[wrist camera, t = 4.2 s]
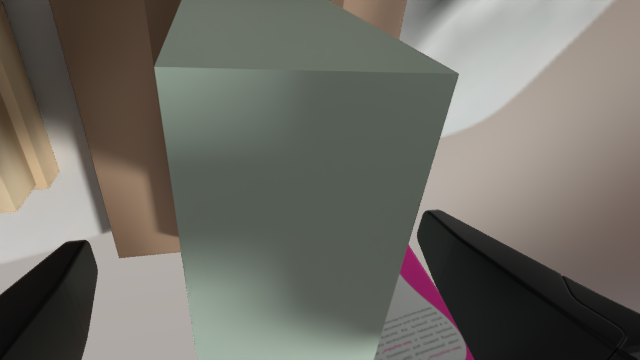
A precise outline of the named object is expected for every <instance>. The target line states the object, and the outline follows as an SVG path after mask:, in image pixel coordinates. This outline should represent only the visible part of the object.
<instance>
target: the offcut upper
mask: <svg viewBox="0 0 640 360" xmlns="http://www.w3.org/2000/svg"><path fill="white" fill-rule="evenodd" d="M35 186H36V183H35V180H34V178H33V175H32V173H31V170H30V167H29V165H28V162H27V160H26V157H25V155H24V152H23V149H22V147H21V144H20V142H19V139H18V137H17V134H16V132H15V129H14V126H13V124H12V121H11V119H10V116H9V114H8V111H7V108H6V106H5V103H4V101H3V98H2V96H1V93H0V213H11V212H17V211H18V210H19V208H20V207H21V206H22V204H23V203H24V201H25V200H26V198H27V197H28V196H29V194H30V193H31V191H32V190H33V188H34V187H35Z"/></svg>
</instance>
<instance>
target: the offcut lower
mask: <svg viewBox="0 0 640 360" xmlns="http://www.w3.org/2000/svg"><path fill="white" fill-rule="evenodd" d="M0 93H1V96H2V98H3V101H4V103H5V106H6V108H7V111H8V114H9V116H10V119H11V121H12V124H13V126H14V129H15V132H16V134H17V137H18V139H19V142H20V144H21V147H22V149H23V152H24V155H25V157H26V160H27V162H28V165H29V167H30V170H31V173H32V175H33V178H34V180H35V183H36V186H35V187H34V188H33V190H36V189H49V187H50V186H51V184H52V183H53V181H54V180H55V178H56V176H57V175H58V173H59V172H60V171H59V168H58V165H57V162H56V159H55V156H54V153H53V150H52V147H51V144H50V141H49V138H48V135H47V132H46V129H45V126H44V123H43V121H42V118H41V115H40V112H39V109H38V106H37V103H36V100H35V97H34V94H33V91H32V88H31V85H30V82H29V79H28V76H27V73H26V70H25V67H24V65H23V62H22V59H21V56H20V53H19V50H18V47H17V44H16V41H15V38H14V35H13V32H12V29H11V26H10V23H9V20H8V17H7V14H6V11H5V8H4V6H3V3H2V0H0Z"/></svg>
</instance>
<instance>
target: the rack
mask: <svg viewBox="0 0 640 360" xmlns="http://www.w3.org/2000/svg"><path fill="white" fill-rule="evenodd" d="M329 1H330V2H332V3H334V4H336V5H338V6H339V7H341V8H343V9H345V10H346V11H348V12H350V13H352V14H354V15H355V16H357V17H359V18H361V19H362V20H364V21H366V22H368V23H370V24H371V25H373V26H375V27H377V28H378V29H380V30H382V31H384V32H386V33H387V34H389V35H391V36H393V37H394V38H396V39H398V40H399V37H400V32H401V27H402V22H403V17H404V12H405V7H406V2H407V0H329ZM49 2H50V6H51V9H52V13H53V17H54V20H55V24H56V28H57V31H58V35H59V39H60V42H61V46H62V50H63V53H64V57H65V61H66V64H67V68H68V72H69V75H70V79H71V83H72V86H73V90H74V94H75V98H76V101H77V105H78V109H79V112H80V116H81V120H82V123H83V127H84V131H85V134H86V138H87V142H88V145H89V149H90V153H91V156H92V160H93V164H94V167H95V171H96V175H97V178H98V182H99V186H100V190H101V193H102V197H103V201H104V204H105V208H106V212H107V215H108V219H109V223H110V226H111V230H112V234H113V237H114V241H115V244H116V248H117V252H118V256H119V258H125V257H135V256H145V255H156V254H165V253H176V252H181V247H180V241H179V234H178V227H177V220H176V213H175V206H174V199H173V193H172V186H171V179H170V172H169V165H168V158H167V152H166V145H165V138H164V131H163V124H162V117H161V110H160V104H159V97H158V90H157V83H156V76H155V69H154V66H155V64H156V61H157V59H158V56H159V54H160V51H161V49H162V47H163V44H164V42H165V39H166V37H167V34H168V32H169V29H170V27H171V25H172V22H173V20H174V17H175V15H176V12H177V10H178V8H179V5H180V3H181V0H49ZM181 256H182V254H181Z"/></svg>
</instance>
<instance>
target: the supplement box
mask: <svg viewBox="0 0 640 360" xmlns="http://www.w3.org/2000/svg"><path fill="white" fill-rule="evenodd" d="M374 360H474V358H473V356H472V354H471V353H470V351H469V349H468V347H467V345H466V343H465V341H464V339H463V337H462V335H461V333H460V332H459V330H458V328H457V326H456V324H455V322H454V320H453V318H452V316H451V314H450V312H449V310H448V309H447V307H446V305H445V303H444V301H443V299H442V297H441V295H440V293H439V291H438V290H437V288H436V287H435V285H434V284H433V282H432V281H431V279H430V277H429V276H428V274H427V273H426V271H425V270H424V268H423V267H422V265H421V263H420V262H419V261H418V259H417V257H416V255H415V254H414V253H413V251H412V249H411V248H410V246H409V245H408V247H407V250H406V253H405V257H404V260H403V263H402V267H401V270H400V273H399V277H398V280H397V284H396V287H395V290H394V294H393V297H392V300H391V304H390V307H389V310H388V314H387V317H386V321H385V324H384V327H383V331H382V334H381V337H380V341H379V344H378V347H377V351H376V354H375V357H374Z"/></svg>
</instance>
